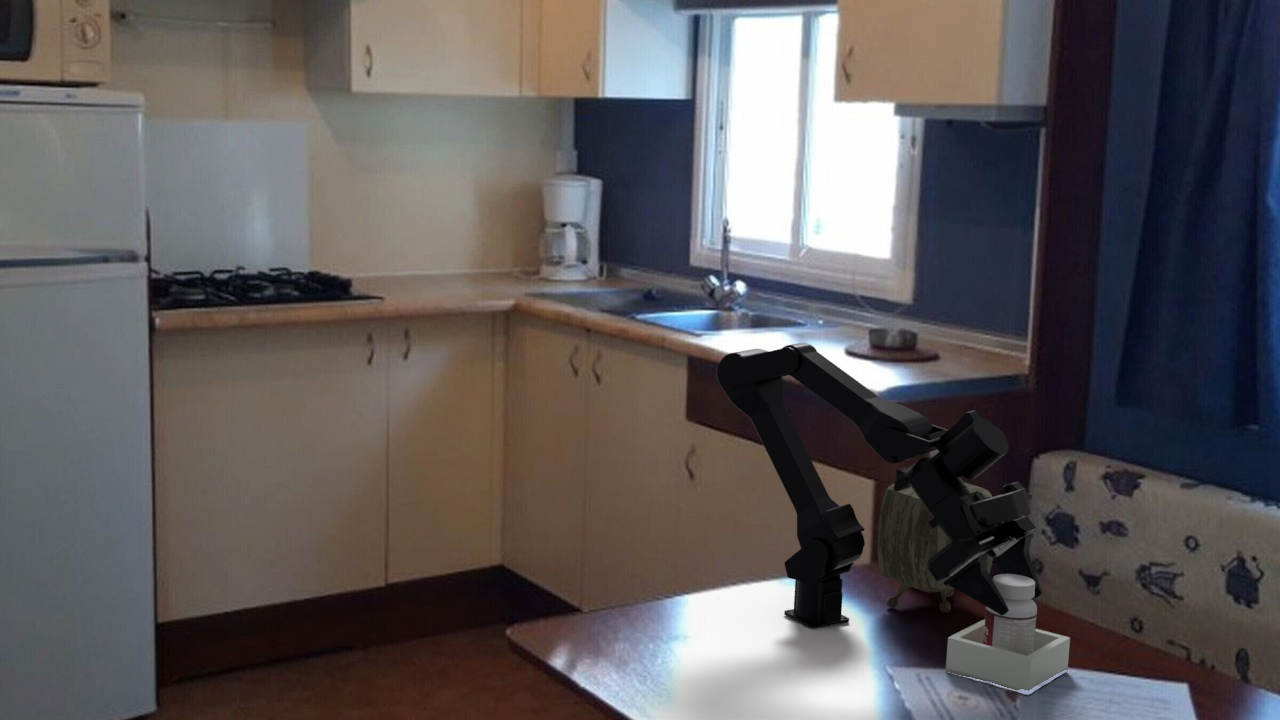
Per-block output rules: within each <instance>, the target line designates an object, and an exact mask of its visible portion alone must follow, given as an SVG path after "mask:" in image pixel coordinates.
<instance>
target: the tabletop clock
mask: <svg viewBox="0 0 1280 720" xmlns="http://www.w3.org/2000/svg"><path fill="white" fill-rule="evenodd" d="M924 455H925V457H928V458H932V457H931V455H930V453H929V452H928V453H926V454H924ZM963 482H964V484H965V485H966V486H967V488H968V489H969V490H970V492H971V493H973V492H975V491H978V492H981V493H982V494H983V495H984V497H985V498H986V499H988V498H992V497H993V495H992V494H991V492H990V491H989V490H988V489H985V488H984V487H980V486H977V485H975V484H972V483H968V482H965V481H963ZM885 490H886V491H885V493H884V495H883V498H882V502H881V508H880V514H879V521H878V528H877V529H878V531H877V561H878V567H879V571H880V575H882V576H883V577H886V578H889V579H891V580H894V581H897V582H899V583H901V586H900V587H899V589H898V590H897V592H896V594H895V596H893V595H892V596H889V597H888V598H887V599H886V606H887V607H889V608H890V609H896V607H897V606H899V598H900V597H902V595H903V594H904V593H905V592H906V591H907V590H908V589H911V588H914V589H916V590H919V591H920V592H924V593H936V592H937V593H938V592H940V597H941V600H942V601H941V602H940V603H939V605H938V608H939V611H940V612H941V613H943V614H947V613H949V612H950V611H951V607H952V606H951V604H950V602H949V601H947V598H950V597H952V596H954V594H955V590H956V589H955V588H953V587H951V586H949V585H948V586H945V585H944V584H943V583H944V582H945V581H946V580H947V579H949V578H950V575H949V577H947V578H946V579H944V580H942V581H939V582H937V583H936V582H935V581H934V580H933V578H932V577H931V575H930V574H929V572H928V571H927V565H928V560H929V559H930V558H931V557H933V556H934V555H935V554H936V553H938V552H939V551H940V550H941V549H943V548H944V547H945V546H947V545H948V544H949V543H950V541H949V540H948V539H947V537H946V536H945V534H944V533H943V531H942V530H941V529H940V527H937V528H934V529H932V527H931V526H930V524H929V523H928V522H929V521H931V520H932V519H933V517H932V516H931V514H930V513H929V511H928V510H927V509H926V507H925V506H924V504H923V503H922V502H921V500H920V499H919V497H918V496H917V494H916V493H915V492H914V490H913V489H912V487H909V488H906V489H903V490H900V491H895V490H894V483H892V484H891V485H890V486H888V487H887V488H886V489H885ZM983 554H986V553H983ZM983 554H981V555H983ZM981 555H978V556H981ZM993 560H994V557H993V558H992V557H991V556H989V555H987V571H988V573H989V574H990V572H991V569H992V565H993V563H992V562H991V561H993Z"/></svg>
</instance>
